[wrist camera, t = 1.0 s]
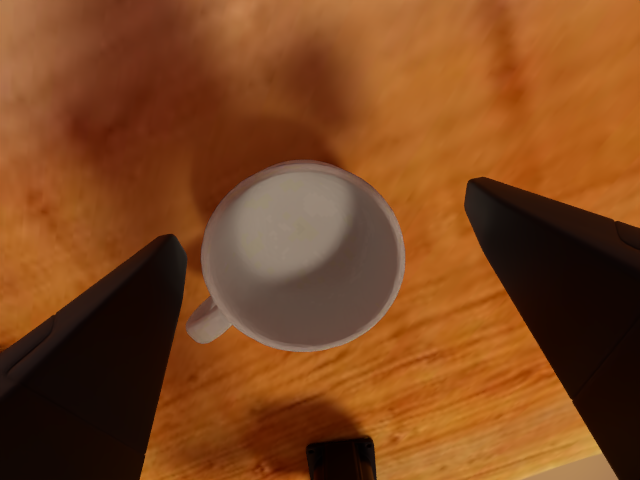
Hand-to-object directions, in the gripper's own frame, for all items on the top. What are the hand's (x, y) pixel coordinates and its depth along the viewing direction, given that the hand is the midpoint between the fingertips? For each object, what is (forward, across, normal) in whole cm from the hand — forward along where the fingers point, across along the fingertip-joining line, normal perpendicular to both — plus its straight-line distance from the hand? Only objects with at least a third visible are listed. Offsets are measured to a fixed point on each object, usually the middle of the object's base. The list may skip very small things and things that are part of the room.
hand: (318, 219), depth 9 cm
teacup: (+11, +3, +9) cm, 15 cm away
